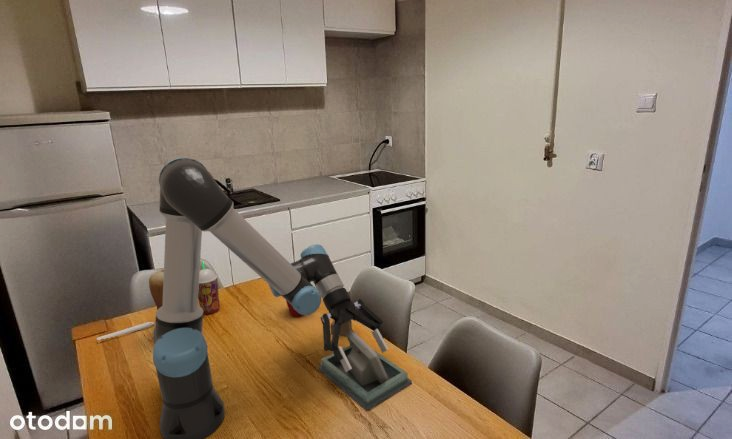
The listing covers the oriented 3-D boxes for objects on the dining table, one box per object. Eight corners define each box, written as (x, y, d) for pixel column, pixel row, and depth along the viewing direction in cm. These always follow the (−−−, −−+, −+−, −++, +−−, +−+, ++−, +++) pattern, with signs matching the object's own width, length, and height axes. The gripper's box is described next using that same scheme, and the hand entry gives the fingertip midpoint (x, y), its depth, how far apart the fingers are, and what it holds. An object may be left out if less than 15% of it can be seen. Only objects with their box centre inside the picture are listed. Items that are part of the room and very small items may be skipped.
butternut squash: (158, 331, 150) (145, 265, 143) (198, 320, 156) (188, 257, 149) (160, 350, 138) (146, 280, 131) (203, 338, 144) (192, 270, 137)
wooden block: (352, 331, 145) (350, 291, 141) (349, 336, 142) (346, 295, 138) (334, 329, 147) (331, 289, 142) (330, 334, 144) (328, 294, 139)
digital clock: (390, 386, 115) (389, 352, 112) (359, 394, 113) (357, 360, 110) (371, 353, 130) (370, 323, 127) (343, 360, 128) (341, 328, 125)
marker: (154, 324, 155) (153, 318, 155) (155, 326, 154) (154, 321, 153) (97, 342, 145) (96, 336, 145) (98, 344, 144) (96, 338, 143)
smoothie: (199, 307, 166) (191, 260, 160) (222, 304, 168) (215, 256, 162) (198, 318, 158) (190, 268, 152) (222, 313, 160) (214, 264, 154)
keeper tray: (367, 411, 108) (366, 399, 107) (317, 369, 125) (317, 359, 124) (411, 383, 118) (411, 372, 117) (360, 348, 135) (359, 338, 134)
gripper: (360, 285, 135) (394, 347, 128) (292, 311, 120) (326, 383, 113) (370, 275, 129) (406, 339, 122) (301, 301, 115) (336, 375, 108)
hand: (367, 360), depth 118 cm, fingers open, 12 cm apart
